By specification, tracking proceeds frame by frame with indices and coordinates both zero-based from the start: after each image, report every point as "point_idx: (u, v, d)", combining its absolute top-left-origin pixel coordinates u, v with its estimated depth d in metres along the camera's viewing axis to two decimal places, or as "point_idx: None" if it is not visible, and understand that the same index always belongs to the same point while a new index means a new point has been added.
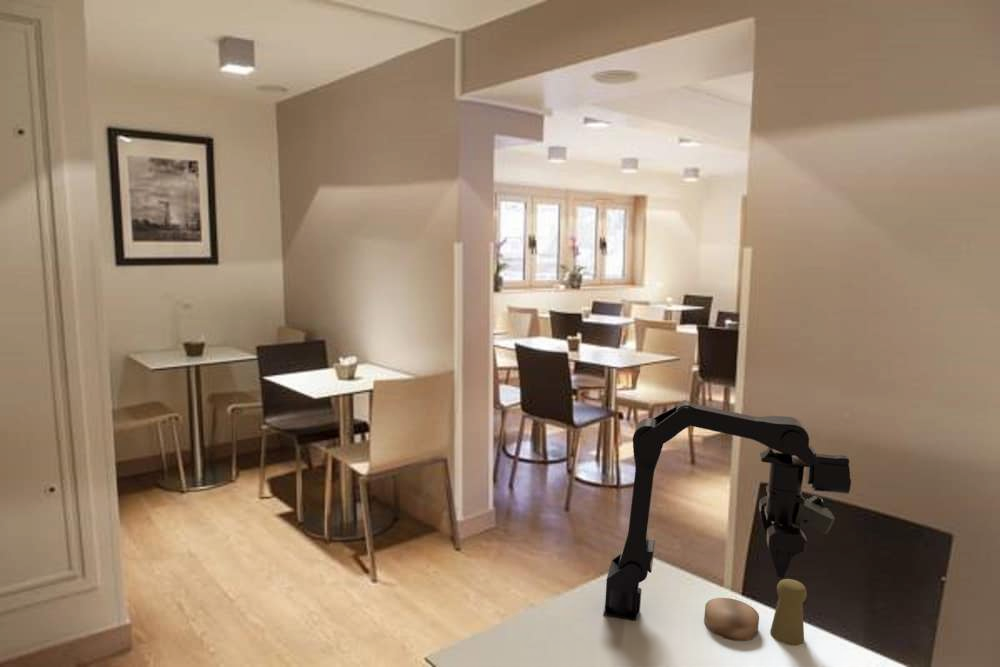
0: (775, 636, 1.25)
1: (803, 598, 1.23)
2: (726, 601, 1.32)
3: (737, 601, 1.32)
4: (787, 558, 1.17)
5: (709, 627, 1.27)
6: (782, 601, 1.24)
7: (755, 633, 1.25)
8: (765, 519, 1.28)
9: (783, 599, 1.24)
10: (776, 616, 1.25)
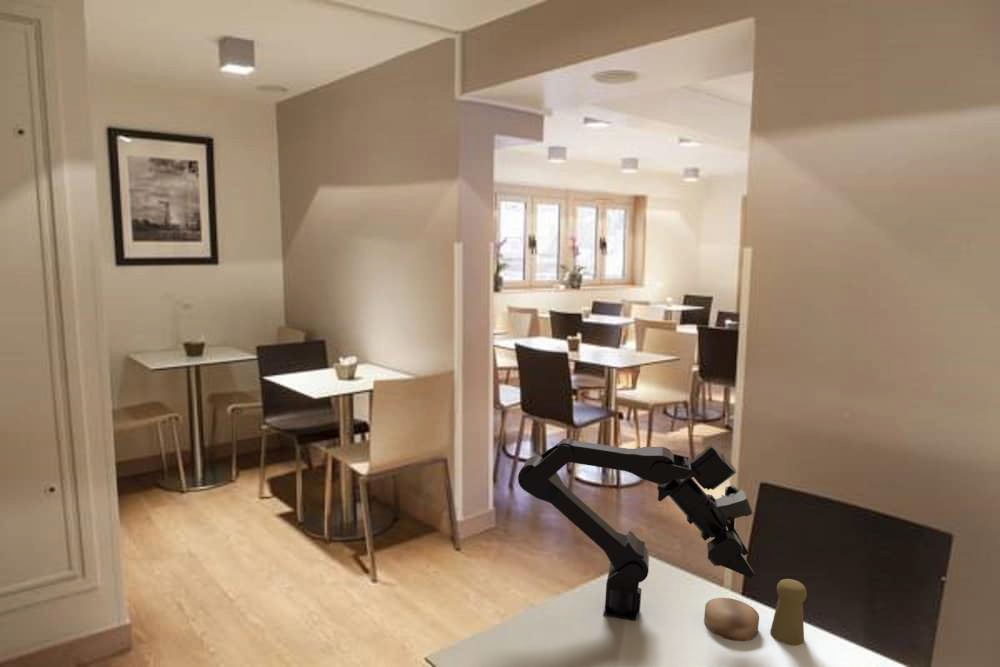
0: (775, 636, 1.25)
1: (803, 598, 1.23)
2: (726, 601, 1.32)
3: (737, 601, 1.32)
4: (740, 559, 1.20)
5: (709, 627, 1.27)
6: (782, 601, 1.24)
7: (755, 633, 1.25)
8: None
9: (783, 599, 1.24)
10: (776, 616, 1.25)
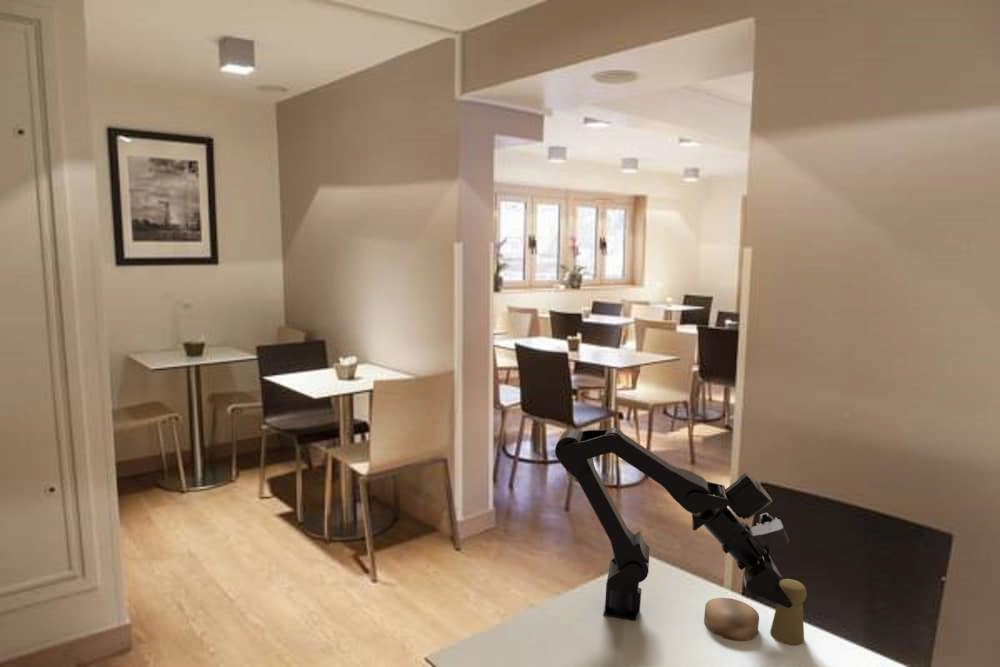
0: (775, 636, 1.25)
1: (803, 598, 1.23)
2: (726, 601, 1.32)
3: (737, 601, 1.32)
4: (778, 590, 1.19)
5: (709, 627, 1.27)
6: None
7: (755, 633, 1.25)
8: None
9: None
10: (776, 616, 1.25)
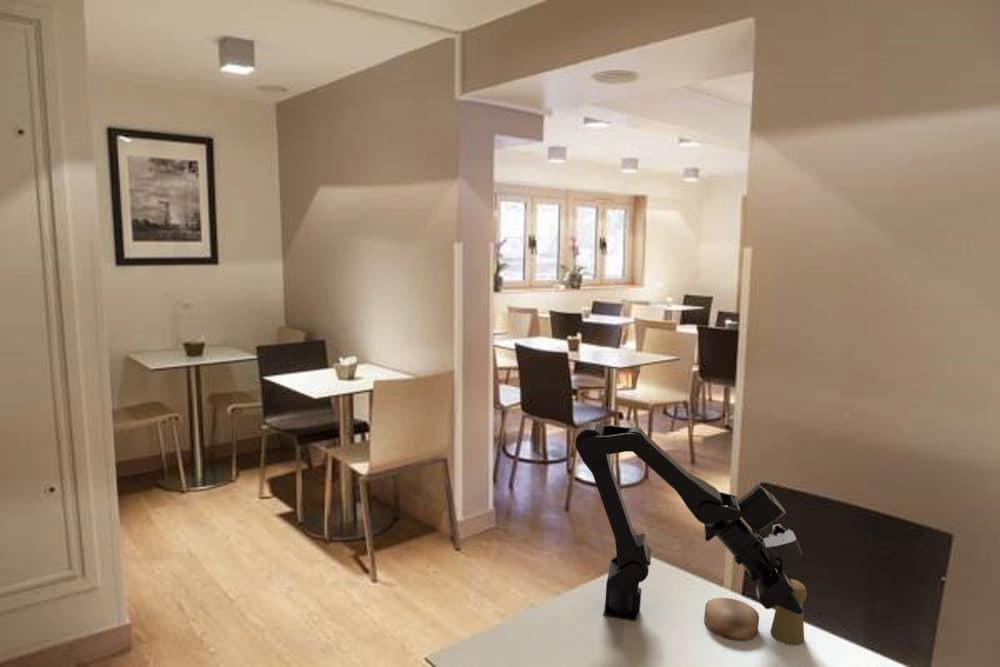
0: (775, 636, 1.25)
1: (803, 598, 1.23)
2: (726, 601, 1.32)
3: (737, 601, 1.32)
4: (789, 596, 1.21)
5: (709, 627, 1.27)
6: None
7: (755, 633, 1.25)
8: None
9: None
10: (776, 616, 1.25)
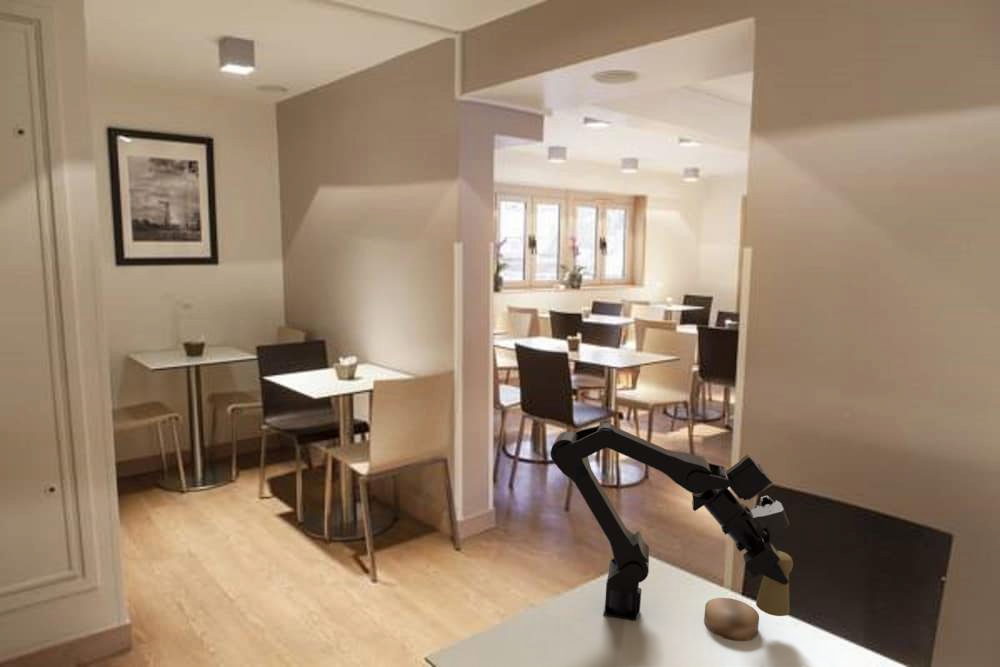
0: (761, 607, 1.25)
1: (789, 569, 1.23)
2: (726, 601, 1.32)
3: (737, 601, 1.32)
4: (775, 566, 1.21)
5: (709, 627, 1.27)
6: None
7: (755, 633, 1.25)
8: None
9: None
10: (762, 587, 1.25)
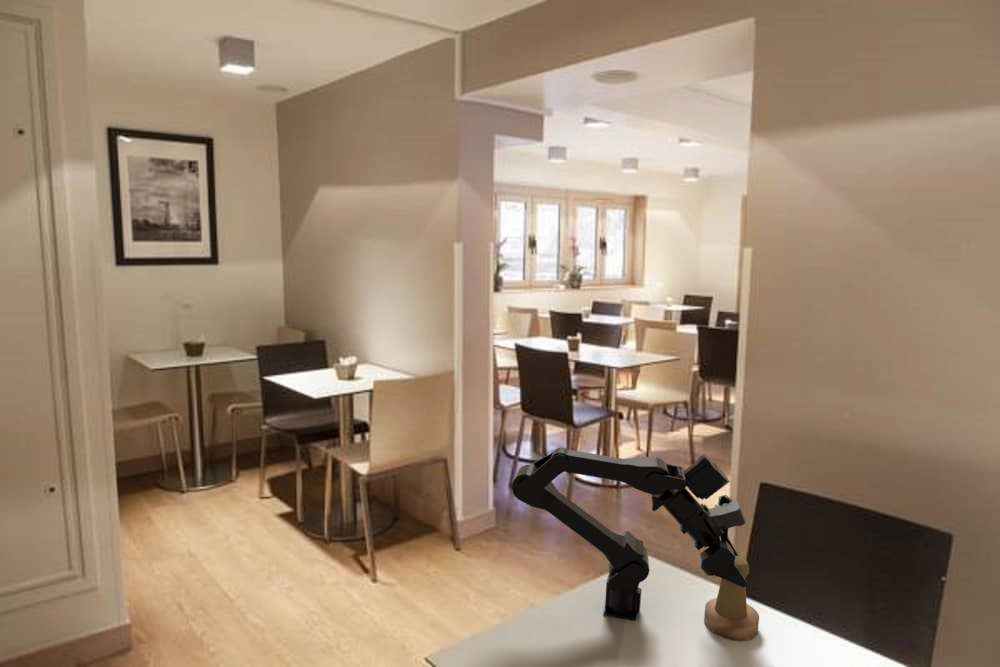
0: (719, 611, 1.27)
1: (745, 573, 1.25)
2: None
3: None
4: (733, 569, 1.21)
5: (709, 627, 1.27)
6: None
7: (755, 633, 1.25)
8: None
9: None
10: (720, 591, 1.28)
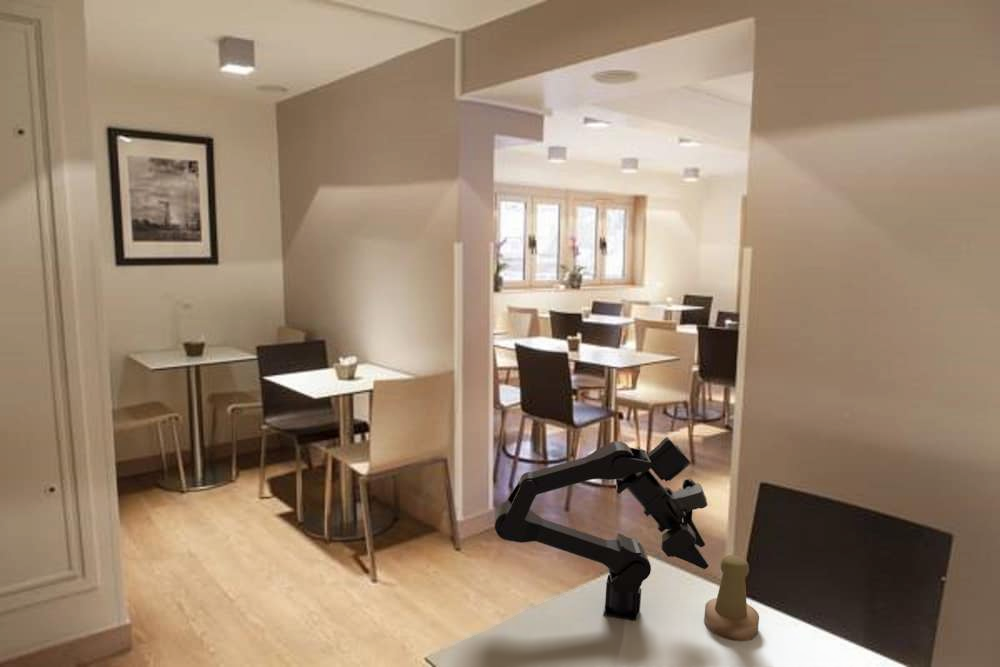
0: (719, 611, 1.27)
1: (745, 573, 1.25)
2: None
3: None
4: (694, 551, 1.23)
5: (709, 627, 1.27)
6: (725, 577, 1.27)
7: (755, 633, 1.25)
8: None
9: (726, 574, 1.26)
10: (720, 591, 1.28)
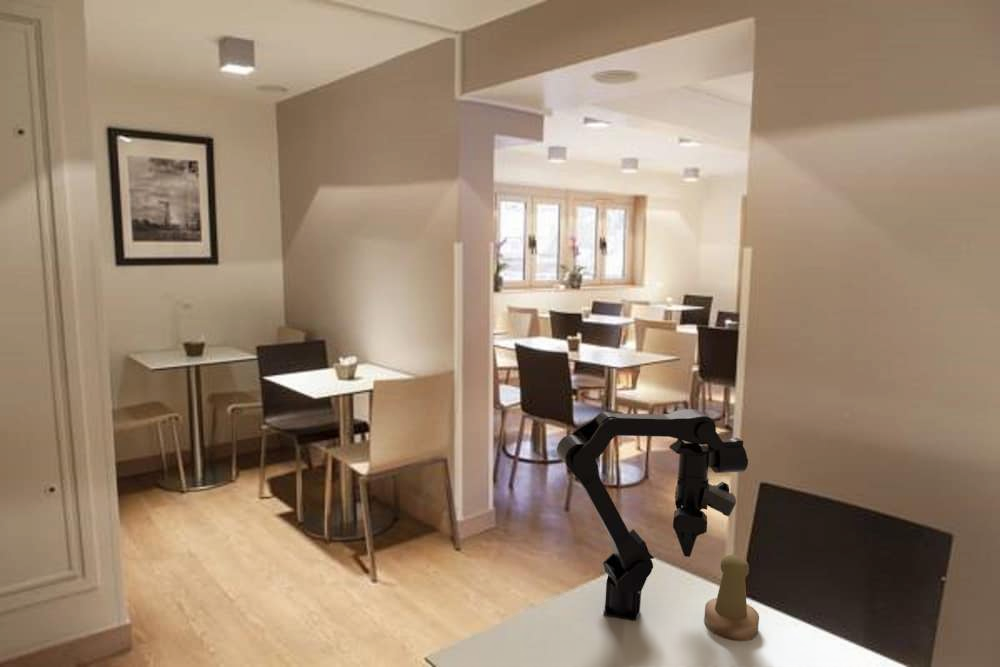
0: (719, 611, 1.27)
1: (745, 573, 1.25)
2: None
3: None
4: (691, 538, 1.27)
5: (709, 627, 1.27)
6: (725, 576, 1.27)
7: (755, 633, 1.25)
8: None
9: (726, 574, 1.26)
10: (720, 591, 1.28)
